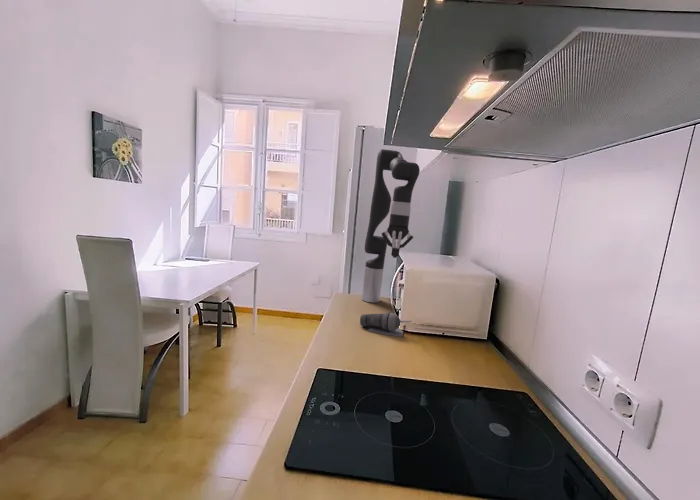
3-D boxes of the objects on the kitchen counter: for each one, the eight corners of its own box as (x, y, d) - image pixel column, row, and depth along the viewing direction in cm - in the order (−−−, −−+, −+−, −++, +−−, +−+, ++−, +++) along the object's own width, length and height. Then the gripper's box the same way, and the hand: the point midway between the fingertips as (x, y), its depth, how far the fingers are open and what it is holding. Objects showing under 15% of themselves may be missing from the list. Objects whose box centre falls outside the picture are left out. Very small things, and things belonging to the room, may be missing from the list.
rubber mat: (374, 319, 158) (375, 318, 158) (405, 324, 155) (405, 323, 155) (368, 331, 142) (368, 329, 142) (401, 337, 140) (402, 335, 140)
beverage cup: (357, 318, 143) (408, 322, 135) (363, 307, 149) (411, 309, 141) (361, 333, 146) (410, 337, 139) (366, 321, 152) (414, 324, 145)
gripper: (417, 215, 146) (411, 258, 148) (384, 211, 148) (379, 254, 151) (416, 216, 138) (410, 261, 141) (382, 212, 141) (376, 256, 143)
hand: (394, 257), depth 146 cm, fingers closed
